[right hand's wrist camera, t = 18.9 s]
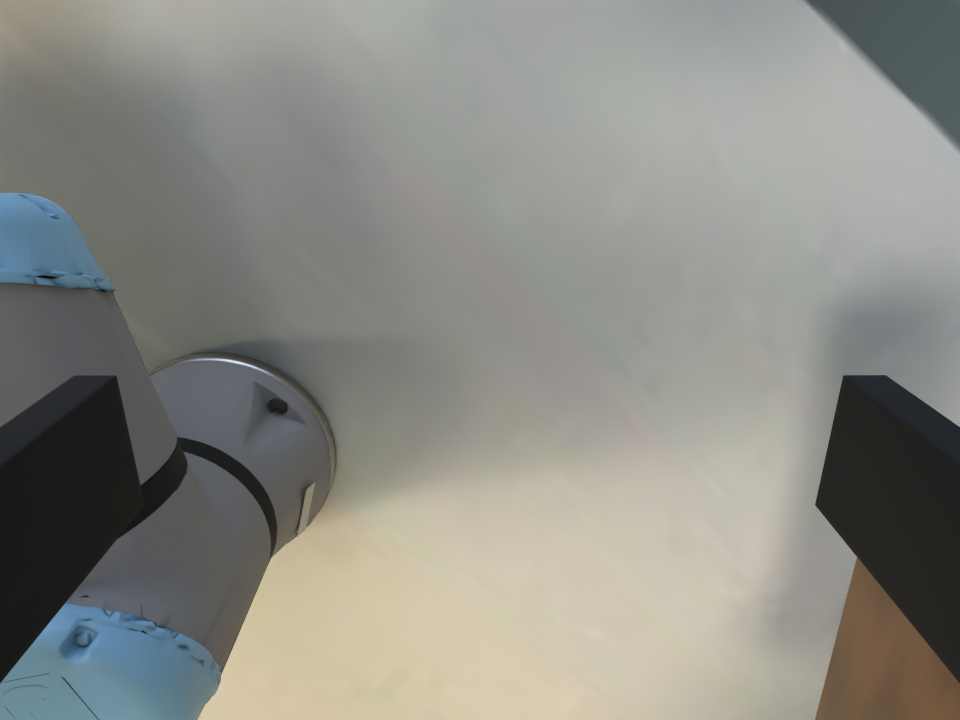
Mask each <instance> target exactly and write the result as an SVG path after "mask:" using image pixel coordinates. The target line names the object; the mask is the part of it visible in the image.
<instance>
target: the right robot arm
mask: <svg viewBox="0 0 960 720" xmlns="http://www.w3.org/2000/svg"><path fill="white" fill-rule="evenodd" d="M113 291H115V288H114V285H113V283H112V282H111V281H110V280H109V279H107V278H105V277H104V275H103V273H102V271H101V269H100V268H99V266H98V264H97V262H96V260H95V258H94V257H93V255H92V253H91V251H90V249H89V247H88V245H87V243H86V241H85V239H84V237H83V235H82V233H81V231H80V229H79V227H78V225H77V224H76V222H75V221H74V219H73V218H72V217H71V216H70V214H69V213H68V212H67V211H65V210H64V209H63V208H62V207H61V206H59V205H57V204H56V203H54V202H52V201H51V200H48V199H46V198H44V197H40V196H37V195H33V194H27V193H0V720H197V719H198V717H199V715H200V713H201V712H202V710H203V708H204V706H205V704H206V703H207V702H208V701H209V700H210V698H211V697H212V696H213V695H214V694H215V693H216V691H217V689H218V686H219V684H220V679H221V677H220V676H221V674H222V672H223V669H224V667H225V664H226V662H227V660H228V657H229V655H230V653H231V650H232V648H233V646H234V643H235V641H236V639H237V636H238V634H239V632H240V629H241V627H242V625H243V622H244V620H245V617H246V615H247V613H248V610H249V608H250V606H251V603H252V601H253V599H254V596H255V594H256V592H257V589H258V587H259V585H260V582H261V580H262V578H263V575H264V573H265V570H266V568H267V566H268V563H269V561H270V559H271V557H273V556H274V555H275V554H276V553H277V552H278V551H279V550H280V549H281V548H282V547H283V546H284V545H285V544H287V543H288V542H290V541H291V540H293V539H294V538H295V537H298V536H299V535H300V534H301V533H302V532H303V531H304V530H305V529H306V528H307V526H308V525H309V524H310V523H311V522H312V520H313V519H314V518H315V516H316V515H317V513H318V512H319V510H320V509H321V507H322V505H323V504H324V501H325V499H326V497H327V495H328V492H329V489H330V487H331V484H332V481H333V477H334V472H335V462H336V459H335V447H334V441H333V437H332V433H331V431H330V428H329V425H328V423H327V421H326V419H325V417H324V415H323V413H322V412H321V410H320V408H319V407H318V405H317V404H316V403H315V402H314V400H313V399H312V398H311V397H310V396H309V394H308V393H307V392H306V391H305V390H304V389H303V388H302V387H301V386H299V385H298V384H297V383H296V382H295V381H293V380H292V379H291V378H289V377H288V376H287V375H285V374H284V373H282V372H280V371H279V370H277V369H275V368H273V367H271V366H269V365H267V364H265V363H262V362H260V361H257V360H254V359H251V358H248V357H244V356H240V355H235V354H227V353H200V354H193V355H188V356H184V357H180V358H178V359H175V360H172V361H170V362H168V363H166V364H163V365H162V366H160V367H158V368H157V369H155V370H154V371H152V372H151V373H150V374H148V372H147V370H146V368H145V365H144V363H143V361H142V358H141V356H140V354H139V352H138V349H137V347H136V345H135V342H134V340H133V338H132V335H131V333H130V331H129V329H128V326H127V324H126V322H125V319H124V317H123V315H122V313H121V310H120V308H119V306H118V303H117V301H116V299H115V297H114V294H113ZM815 505H816V507H817V508H818V509H819V510H820V512H821V513H822V514H823V515H824V516H825V518H826V519H827V520H828V521H829V523H830V524H831V525H832V526H833V528H834V529H835V530H836V531H837V533H838V534H839V535H840V536H841V537H842V539H843V540H844V541H845V542H846V544H847V545H848V546H849V547H850V549H851V550H852V551H853V552H854V554H855V555H856V556H857V557H858V558H859V560H860V561H861V562H862V563H863V565H864V566H865V567H866V568H867V570H868V571H869V572H870V573H871V574H872V576H873V577H874V578H875V579H876V581H877V582H878V583H879V584H880V586H881V587H882V588H883V589H884V591H885V592H886V593H887V594H888V595H889V597H890V598H891V599H892V600H893V602H894V603H895V604H896V605H897V607H898V608H899V609H900V610H901V612H902V613H903V614H904V615H905V616H906V618H907V619H908V620H909V621H910V623H911V624H912V625H913V626H914V628H915V629H916V630H917V631H918V633H919V634H920V635H921V636H922V637H923V639H924V640H925V641H926V642H927V644H928V645H929V646H930V647H931V649H932V650H933V651H934V652H935V654H936V655H937V656H938V657H939V658H940V660H941V661H942V662H943V663H944V665H945V666H946V667H947V668H948V670H949V671H950V672H951V673H952V674H953V676H954V677H955V678H956V679H957V681H958V682H959V683H960V427H959V426H957V425H956V424H954V423H953V422H952V421H950V420H949V419H947V418H946V417H944V416H943V415H942V414H940V413H939V412H937V411H936V410H934V409H933V408H932V407H930V406H929V405H927V404H926V403H924V402H923V401H922V400H920V399H919V398H917V397H916V396H914V395H913V394H912V393H910V392H909V391H907V390H906V389H904V388H903V387H902V386H900V385H899V384H897V383H896V382H894V381H893V380H892V379H890V378H889V377H887V376H886V375H843V380H842V384H841V389H840V393H839V398H838V403H837V407H836V412H835V416H834V421H833V426H832V430H831V435H830V440H829V444H828V449H827V453H826V458H825V463H824V467H823V472H822V476H821V481H820V486H819V490H818V495H817V499H816V504H815Z"/></svg>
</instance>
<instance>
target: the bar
mask: <svg viewBox="0 0 960 720" xmlns="http://www.w3.org/2000/svg"><path fill="white" fill-rule="evenodd" d="M815 720H960V683H959V682H958V681H957V679H956V678H955V677H954V676H953V674H952V673H951V672H950V671H949V670H948V668H947V667H946V666H945V665H944V663H943V662H942V661H941V660H940V658H939V657H938V656H937V655H936V654H935V652H934V651H933V650H932V649H931V647H930V646H929V645H928V644H927V642H926V641H925V640H924V639H923V637H922V636H921V635H920V634H919V633H918V631H917V630H916V629H915V628H914V626H913V625H912V624H911V623H910V621H909V620H908V619H907V618H906V616H905V615H904V614H903V613H902V612H901V610H900V609H899V608H898V607H897V605H896V604H895V603H894V602H893V600H892V599H891V598H890V597H889V595H888V594H887V593H886V592H885V591H884V589H883V588H882V587H881V586H880V584H879V583H878V582H877V581H876V579H875V578H874V577H873V576H872V574H871V573H870V572H869V571H868V570H867V568H866V567H865V566H864V565H863V563H862V562H861V561H860V560H859V558H858V557H857V559H856V563H855V567H854V571H853V575H852V579H851V583H850V587H849V591H848V594H847V598H846V602H845V606H844V610H843V614H842V618H841V622H840V625H839V629H838V633H837V637H836V641H835V645H834V649H833V653H832V657H831V660H830V664H829V668H828V672H827V676H826V680H825V684H824V688H823V691H822V695H821V699H820V703H819V707H818V711H817V715H816V719H815Z"/></svg>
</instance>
